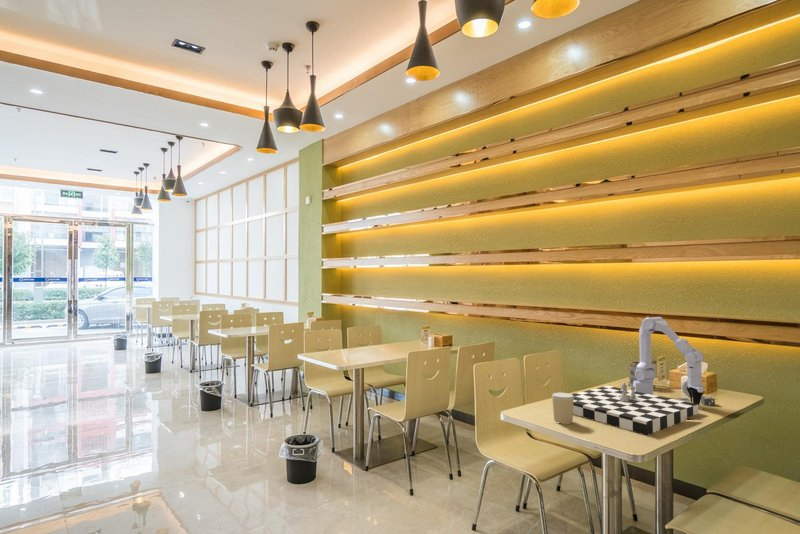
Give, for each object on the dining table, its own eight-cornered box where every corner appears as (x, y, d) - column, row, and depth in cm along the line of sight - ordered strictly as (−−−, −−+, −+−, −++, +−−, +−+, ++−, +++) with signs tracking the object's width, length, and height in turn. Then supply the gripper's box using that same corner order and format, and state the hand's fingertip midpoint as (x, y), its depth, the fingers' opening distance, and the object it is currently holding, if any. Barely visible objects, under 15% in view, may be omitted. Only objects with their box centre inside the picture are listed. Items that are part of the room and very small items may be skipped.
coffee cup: (578, 422, 202) (578, 395, 202) (564, 426, 197) (564, 398, 197) (562, 417, 210) (561, 391, 210) (547, 420, 205) (547, 393, 205)
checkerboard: (646, 436, 185) (646, 400, 186) (555, 410, 223) (554, 380, 223) (698, 417, 210) (697, 385, 210) (608, 396, 248) (607, 369, 248)
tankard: (640, 389, 260) (640, 363, 260) (623, 384, 272) (622, 359, 272) (666, 386, 266) (666, 361, 267) (648, 382, 278) (648, 357, 279)
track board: (689, 411, 218) (689, 408, 218) (674, 399, 238) (674, 397, 238) (706, 412, 216) (706, 409, 216) (689, 400, 236) (689, 398, 236)
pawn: (692, 408, 218) (692, 392, 219) (689, 406, 222) (689, 390, 222) (701, 408, 218) (700, 393, 218) (698, 406, 221) (697, 391, 221)
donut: (703, 398, 240) (703, 379, 240) (701, 399, 238) (701, 380, 238) (682, 395, 248) (682, 376, 248) (680, 396, 245) (680, 377, 246)
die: (704, 407, 223) (704, 398, 223) (700, 405, 228) (700, 396, 228) (715, 408, 222) (714, 399, 222) (711, 405, 227) (710, 396, 227)
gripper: (710, 379, 212) (710, 408, 212) (698, 373, 226) (698, 400, 226) (693, 378, 214) (693, 407, 214) (682, 372, 228) (682, 399, 228)
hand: (695, 403), depth 220 cm, fingers closed on pawn, 3 cm apart
